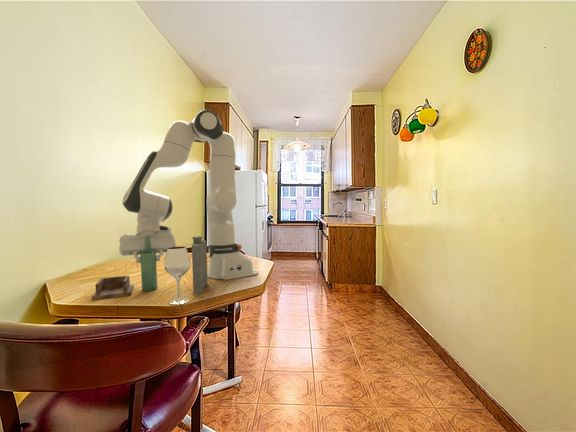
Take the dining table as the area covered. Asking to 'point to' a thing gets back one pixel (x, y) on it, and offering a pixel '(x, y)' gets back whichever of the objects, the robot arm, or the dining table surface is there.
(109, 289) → the u rest
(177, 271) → the wineglass
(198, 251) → the hip flask
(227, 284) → the dining table surface
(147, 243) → the bottle
